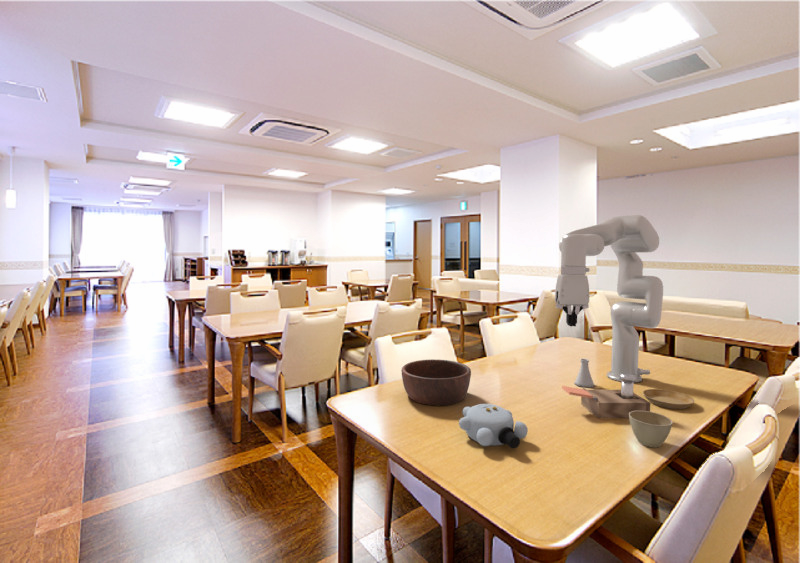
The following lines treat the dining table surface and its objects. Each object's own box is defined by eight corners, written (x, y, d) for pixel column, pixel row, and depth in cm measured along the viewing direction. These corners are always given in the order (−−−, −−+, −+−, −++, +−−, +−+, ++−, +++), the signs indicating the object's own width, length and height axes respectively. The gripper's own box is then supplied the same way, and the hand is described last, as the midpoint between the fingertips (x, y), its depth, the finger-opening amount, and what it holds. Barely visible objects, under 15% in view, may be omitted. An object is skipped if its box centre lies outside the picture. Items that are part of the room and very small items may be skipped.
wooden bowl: (484, 395, 145) (484, 367, 144) (442, 415, 127) (442, 384, 126) (430, 380, 162) (430, 355, 161) (387, 396, 144) (387, 368, 143)
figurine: (447, 426, 118) (485, 466, 100) (448, 399, 117) (487, 435, 98) (495, 417, 125) (540, 453, 106) (497, 391, 123) (543, 424, 105)
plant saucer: (659, 393, 147) (660, 386, 147) (704, 407, 133) (704, 399, 133) (633, 399, 141) (633, 392, 140) (676, 414, 127) (677, 406, 127)
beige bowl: (672, 456, 101) (673, 428, 101) (627, 445, 107) (628, 420, 106) (670, 440, 110) (671, 415, 109) (628, 431, 115) (629, 407, 114)
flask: (596, 388, 152) (597, 362, 151) (576, 387, 153) (577, 361, 152) (591, 382, 159) (592, 357, 158) (572, 381, 160) (572, 356, 160)
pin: (628, 407, 132) (630, 373, 132) (637, 412, 128) (639, 377, 127) (615, 407, 132) (616, 373, 131) (623, 412, 128) (625, 377, 127)
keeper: (583, 391, 133) (584, 389, 133) (592, 398, 127) (592, 396, 127) (561, 388, 133) (562, 385, 133) (569, 394, 127) (569, 391, 127)
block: (628, 403, 136) (628, 386, 136) (649, 418, 124) (650, 399, 124) (579, 403, 136) (580, 386, 136) (596, 418, 124) (597, 399, 124)
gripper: (590, 270, 137) (588, 323, 138) (546, 270, 137) (545, 323, 138) (601, 271, 129) (599, 327, 130) (554, 272, 129) (553, 327, 131)
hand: (571, 325), depth 134 cm, fingers closed
